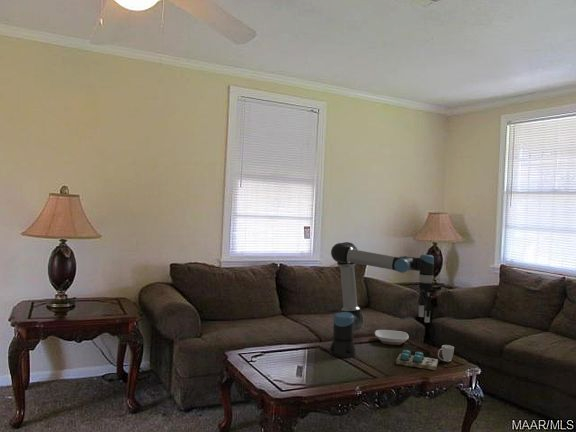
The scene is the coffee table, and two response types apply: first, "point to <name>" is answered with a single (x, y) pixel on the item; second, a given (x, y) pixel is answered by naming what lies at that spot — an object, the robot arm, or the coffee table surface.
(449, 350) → the cup
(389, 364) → the coffee table surface
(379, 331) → the bowl
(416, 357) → the button
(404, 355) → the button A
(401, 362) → the board
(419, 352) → the button
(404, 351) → the button
